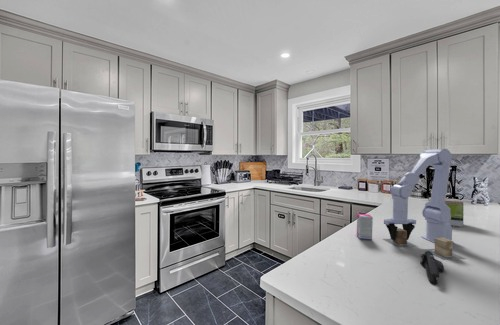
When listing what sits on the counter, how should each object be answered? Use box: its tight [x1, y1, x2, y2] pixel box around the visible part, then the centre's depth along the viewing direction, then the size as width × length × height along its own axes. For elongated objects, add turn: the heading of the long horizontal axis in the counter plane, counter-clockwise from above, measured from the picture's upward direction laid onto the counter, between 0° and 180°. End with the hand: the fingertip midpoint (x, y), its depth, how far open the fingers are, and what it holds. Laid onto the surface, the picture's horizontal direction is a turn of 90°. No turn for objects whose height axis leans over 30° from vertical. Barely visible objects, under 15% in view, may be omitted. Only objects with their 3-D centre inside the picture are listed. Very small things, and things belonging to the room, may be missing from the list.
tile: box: [382, 238, 418, 248], centre depth 105 cm, size 10×10×1 cm
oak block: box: [434, 238, 454, 256], centre depth 93 cm, size 4×4×6 cm
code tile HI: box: [422, 248, 466, 261], centre depth 93 cm, size 10×10×1 cm
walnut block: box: [392, 227, 408, 244], centre depth 105 cm, size 4×4×6 cm
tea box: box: [428, 197, 464, 228], centre depth 137 cm, size 15×10×15 cm, turn 58°
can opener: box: [419, 251, 445, 285], centre depth 78 cm, size 18×7×6 cm, turn 144°
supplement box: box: [356, 213, 374, 241], centre depth 111 cm, size 6×6×12 cm
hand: (399, 239), depth 105 cm, fingers open, 6 cm apart
